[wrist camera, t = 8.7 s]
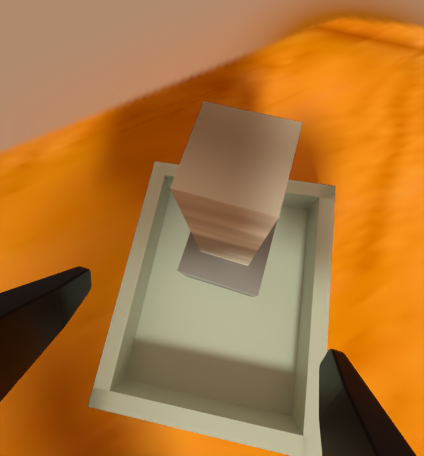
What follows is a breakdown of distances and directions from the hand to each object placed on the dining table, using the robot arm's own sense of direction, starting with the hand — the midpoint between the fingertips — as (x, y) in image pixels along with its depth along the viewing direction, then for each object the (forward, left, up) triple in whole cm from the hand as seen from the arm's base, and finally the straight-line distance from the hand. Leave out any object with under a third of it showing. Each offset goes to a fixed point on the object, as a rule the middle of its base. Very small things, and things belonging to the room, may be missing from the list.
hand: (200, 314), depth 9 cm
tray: (+2, -1, -10) cm, 10 cm away
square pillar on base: (+5, -1, -9) cm, 10 cm away
